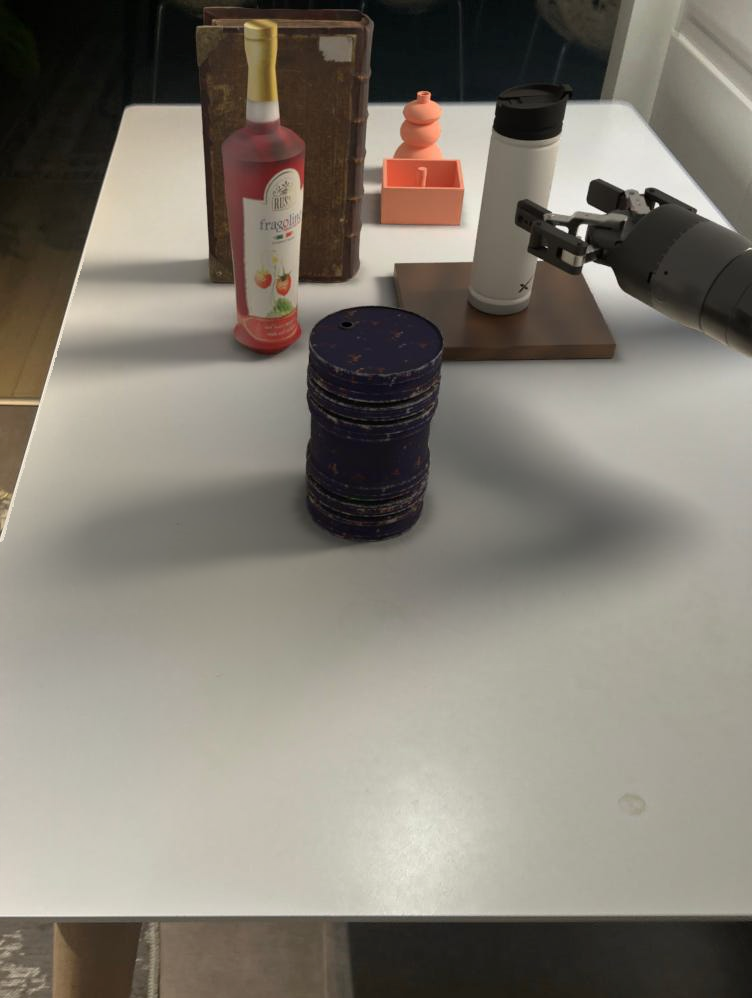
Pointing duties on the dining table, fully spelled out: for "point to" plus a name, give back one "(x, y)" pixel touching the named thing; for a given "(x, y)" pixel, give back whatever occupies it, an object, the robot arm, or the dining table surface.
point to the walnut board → (524, 335)
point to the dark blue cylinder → (370, 419)
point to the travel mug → (515, 193)
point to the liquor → (264, 205)
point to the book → (294, 125)
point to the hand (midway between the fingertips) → (555, 200)
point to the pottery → (421, 172)
